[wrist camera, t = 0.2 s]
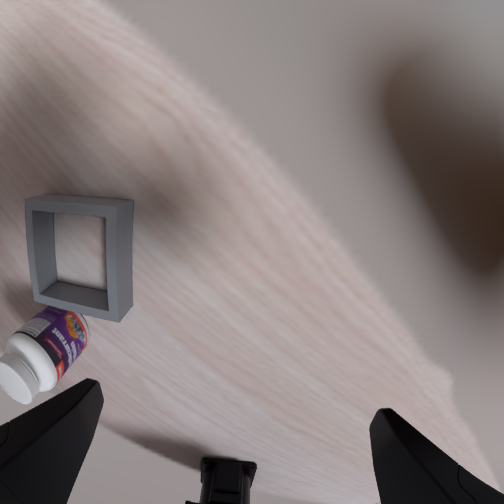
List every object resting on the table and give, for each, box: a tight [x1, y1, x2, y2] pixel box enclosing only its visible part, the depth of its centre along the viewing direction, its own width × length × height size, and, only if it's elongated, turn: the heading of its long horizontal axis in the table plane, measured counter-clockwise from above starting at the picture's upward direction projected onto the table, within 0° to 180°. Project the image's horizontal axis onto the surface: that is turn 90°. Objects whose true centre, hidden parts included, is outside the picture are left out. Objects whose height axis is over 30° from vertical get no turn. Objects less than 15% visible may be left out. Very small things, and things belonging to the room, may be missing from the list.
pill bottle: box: [0, 305, 89, 404], centre depth 20 cm, size 5×5×10 cm
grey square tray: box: [25, 194, 134, 323], centre depth 21 cm, size 9×9×3 cm
